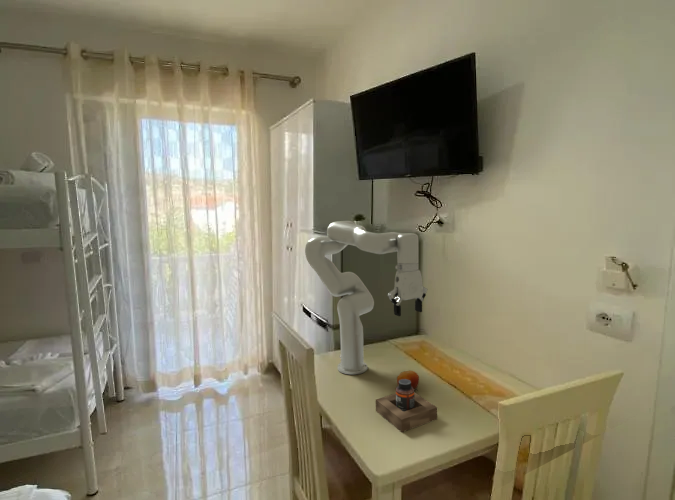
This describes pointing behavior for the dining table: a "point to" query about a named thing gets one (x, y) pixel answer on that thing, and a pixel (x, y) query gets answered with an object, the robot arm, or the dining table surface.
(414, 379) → the fruit
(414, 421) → the socket block
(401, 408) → the supplement bottle
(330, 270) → the robot arm
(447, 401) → the dining table surface
